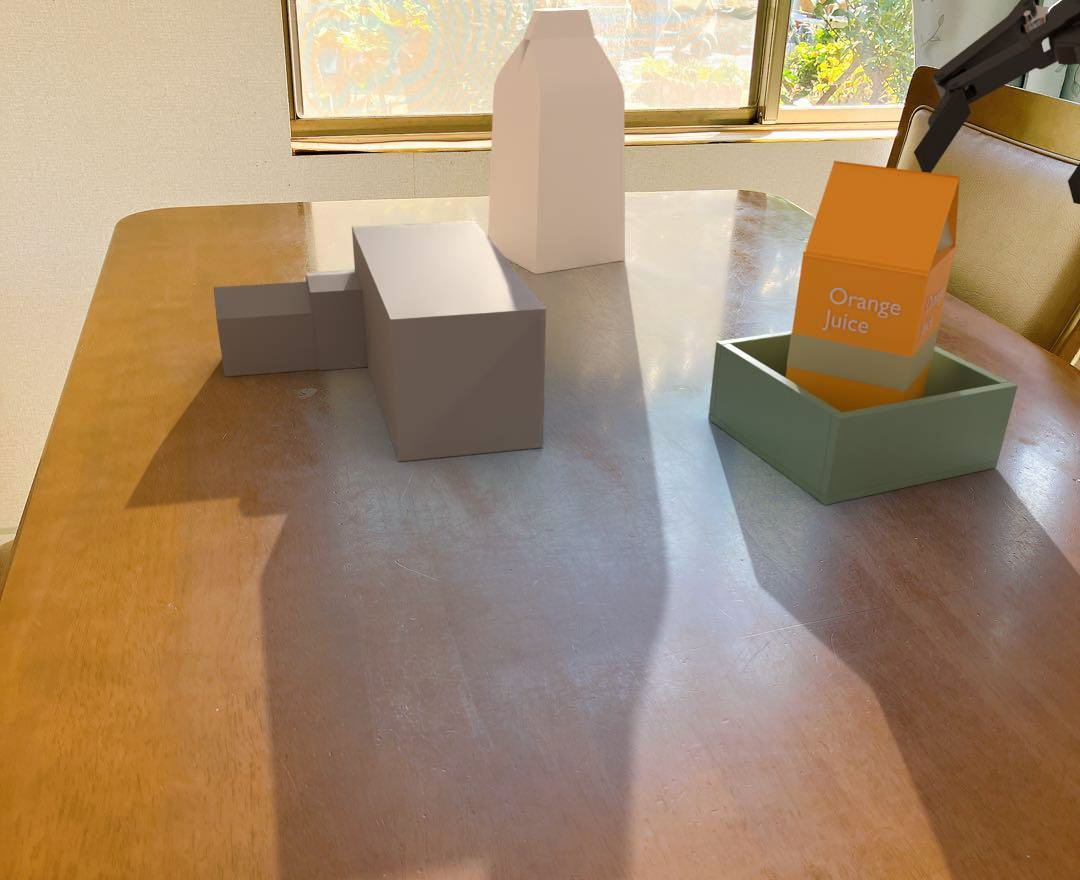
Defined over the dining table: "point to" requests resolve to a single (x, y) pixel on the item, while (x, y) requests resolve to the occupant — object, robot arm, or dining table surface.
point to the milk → (558, 149)
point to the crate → (858, 423)
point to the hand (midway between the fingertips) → (994, 177)
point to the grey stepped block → (409, 336)
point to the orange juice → (873, 285)
